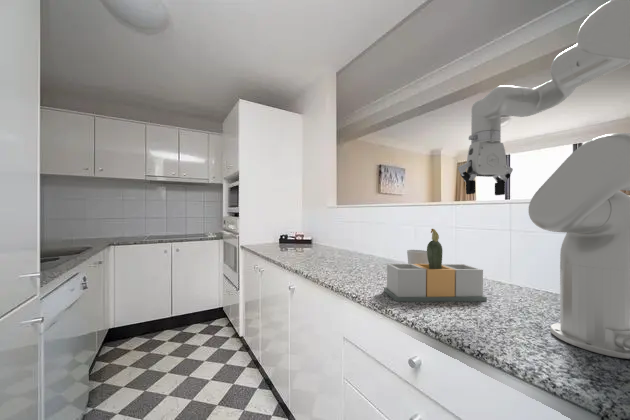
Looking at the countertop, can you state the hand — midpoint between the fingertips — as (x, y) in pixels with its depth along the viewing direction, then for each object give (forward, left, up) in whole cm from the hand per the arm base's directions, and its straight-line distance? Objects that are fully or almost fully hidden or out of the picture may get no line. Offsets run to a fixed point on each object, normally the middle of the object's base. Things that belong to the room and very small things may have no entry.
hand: (485, 194), depth 76 cm
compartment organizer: (+3, +15, -32) cm, 36 cm away
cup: (+18, +12, -32) cm, 39 cm away
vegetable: (+3, +15, -31) cm, 35 cm away
